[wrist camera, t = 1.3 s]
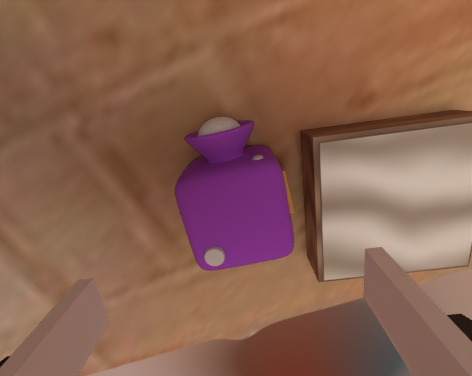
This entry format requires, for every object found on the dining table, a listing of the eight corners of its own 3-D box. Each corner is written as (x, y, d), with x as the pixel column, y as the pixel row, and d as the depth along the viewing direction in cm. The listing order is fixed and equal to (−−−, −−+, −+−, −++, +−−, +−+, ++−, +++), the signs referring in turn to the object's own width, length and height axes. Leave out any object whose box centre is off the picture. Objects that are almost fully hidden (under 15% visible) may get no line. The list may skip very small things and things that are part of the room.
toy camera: (253, 97, 27) (261, 98, 18) (296, 207, 32) (321, 255, 22) (162, 139, 29) (126, 160, 20) (215, 239, 33) (206, 296, 24)
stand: (300, 130, 28) (314, 138, 23) (452, 109, 28) (501, 113, 23) (307, 256, 34) (319, 284, 29) (435, 241, 33) (471, 268, 28)
